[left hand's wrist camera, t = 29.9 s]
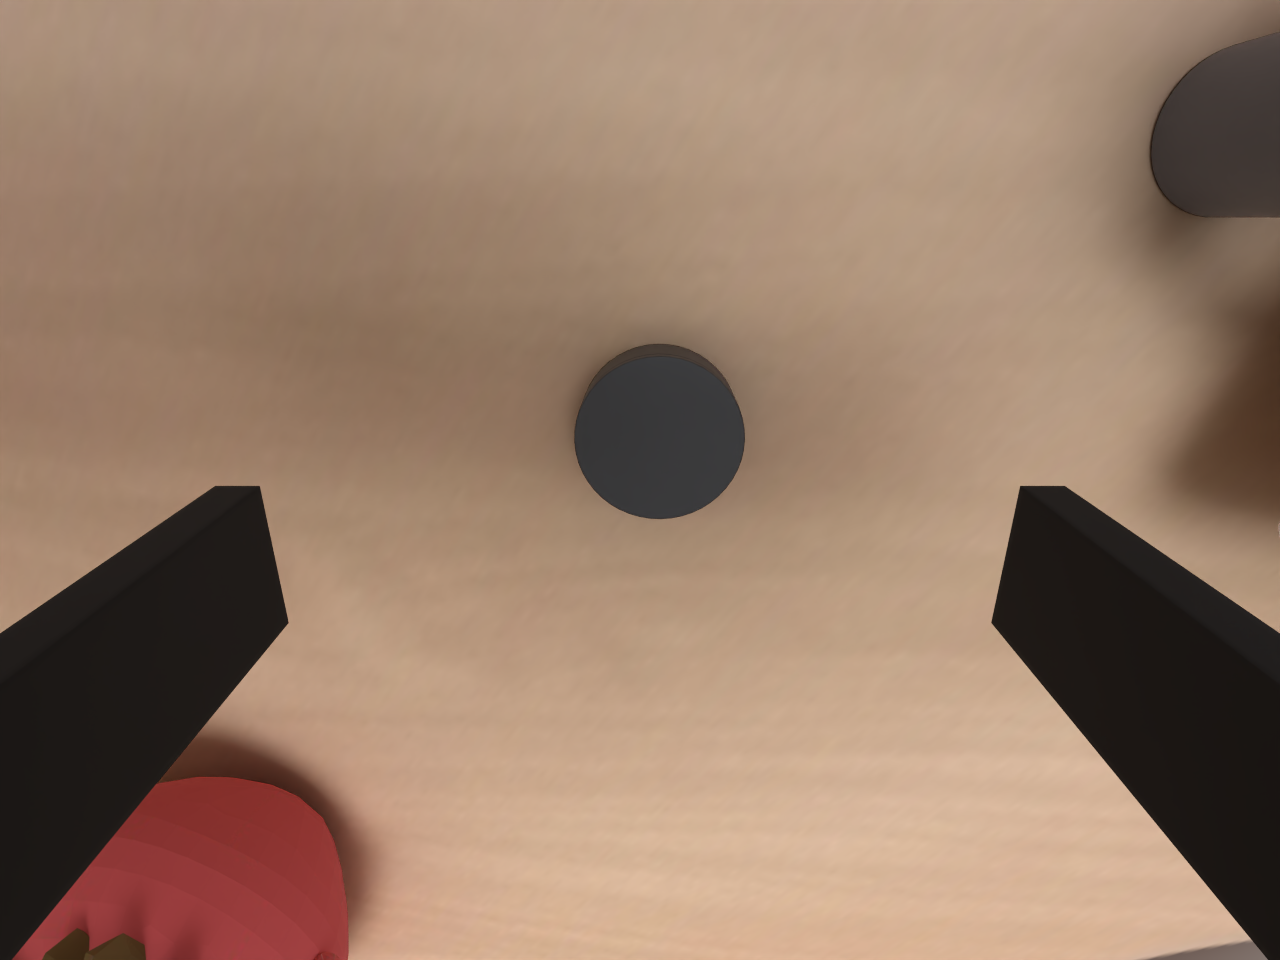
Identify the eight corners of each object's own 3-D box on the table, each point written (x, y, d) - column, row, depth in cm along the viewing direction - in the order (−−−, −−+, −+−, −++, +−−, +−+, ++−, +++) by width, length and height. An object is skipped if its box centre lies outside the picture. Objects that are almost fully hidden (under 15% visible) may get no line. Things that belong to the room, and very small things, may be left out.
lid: (599, 326, 22) (594, 337, 20) (756, 365, 23) (766, 379, 21) (566, 475, 24) (558, 498, 22) (713, 509, 24) (718, 535, 22)
